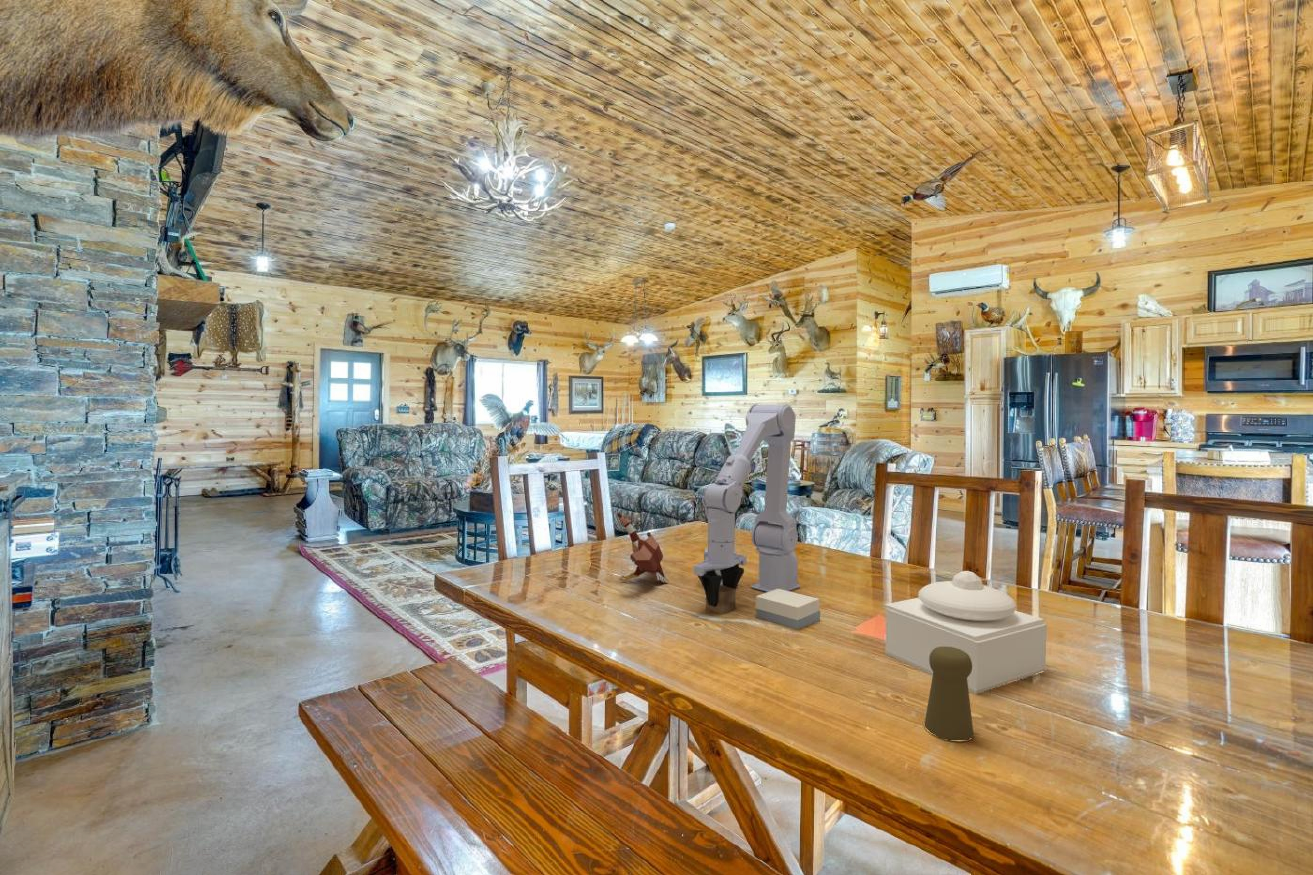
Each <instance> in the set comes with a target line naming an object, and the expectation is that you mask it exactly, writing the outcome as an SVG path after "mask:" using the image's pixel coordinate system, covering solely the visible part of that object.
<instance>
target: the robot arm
mask: <svg viewBox="0 0 1313 875" xmlns="http://www.w3.org/2000/svg"><path fill="white" fill-rule="evenodd" d="M796 417H797V415H796V413H795V410H794V409H793V408H792V406H791V405H790V404H787V403H785V404H757V403H754V404H752V405H750V407H749V408H748V411H747V413H746V415H745V425H746V427H745V430H744V433H743V435H742V436H741V440H740V441H739V445H738V446H737V448H736V451H735V454H731V455H730V456H727V458H726V460H725V461H724V464H722V467H721V469H720V471H719V473H718V475H717V477H716V479H715V481H714V482H713V483H711V484H709V485H708V486H706V487H705V489H704V491H703V496H702V497H701V502H702V506H703V507H704V512H705V517H706V518H707V549H708V557H706V558H705V561H704V560H703V561H701V562H699V563H697V564H694V565H693V575H695V576H697V577H698V579H699V581H700V582H701V585H702V587H703V590H704V594H705V598H706V597H707V602H708V605H711V606H714V607H716V606H717V604H718V595H719V587H720V583H721V580H722V582H723V586H727V587H730V588H734V589H736V590H737V588H738V585H739V582H740V580H741V579H742V577H743V575H744V574H745V568H743V567H740V565H741V566H745V565H747V555H744V554H737V555H735V550H736V549H735V544H736V543H735V539H736V538H735V536H736V534H735V533H736V530H735V528H736V525H735V524H736V511H737V510H738V509H739V508H740V506H741V502H742V494H743V486H744V484H745V483H746V481H747V478H748V476H749V475H750V472H751V470H752V466H751V463H750V461H751V459H752V458H753V457H754V455H755V453H756V452H757V450H758V448H759V446H760V445H761V444H762V442H763V440H765V442H766V444H767V446H768V448H767V449H768V452H767V463H766V464H767V465H766V478H765V479H766V481H765V490H764V491H765V492H764V493H765V494H764V508H763V510H762V511H761V512H759V514H757V515H755V517H754V524H753V527H752V529H751V536H750V538H751V543H752V544H753V545H754V546H755V550H756V551H758V583H755V584H751V585H750V588H752V589H756V590H759V591H761V592H762V591H763V592H765V593H767V592H770V591H772V590H775V589H782V590H786V591H790V592H791V591H793V590H796V589H798V588H801V586H802V585H801V584H798V581H799V580H798V574H799V571H798V570H799V561H798V557H797V555H796V553H795V552H794V550H795V549H796V548H797V545H798V540H799V534H798V530H797V529H798V528H797V520H796V519H795V518H794V517H793V516H792V515H791V514H790V513H789V512H788V511H787V505H788V495H789V494H788V491H789V479H790V478H789V476H790V463H791V462H790V461H791V447H792V441H793V440H794V439H795V433H796ZM718 570H720V572H721V576H720V575H717V573H715V571H718Z"/></svg>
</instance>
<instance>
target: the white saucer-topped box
mask: <svg viewBox="0 0 1313 875" xmlns="http://www.w3.org/2000/svg"><path fill="white" fill-rule="evenodd" d="M884 610H885V611H886V612H885V654H884V655H887V656H889V657H891V658H893V659H895V660H897V661H898V660H899V661H900V662H903V663H905V664H907V665H909V666H911V665H912V666H911V667H913V668H917V670H920V669H921V670H920V671H922V670H923V672H925V673H927V674H929V673H930V674H929V675H931V674H932V675H931V676H933V671H932V669H931V667H930V663H929V656H930V653H931V652H932V650H933V649H934V648H937V647H942V646H945V647H953V648H957V649H960V650H962V651H964V652H966V653H967V654H968V655H969V657H970V658H971V662H972V671H971V674H970V675H969V676H968V677H967V682H968V691H971V692H972V693H971V692H970V693H971V694H974V693H975V694H974V695H978V694H977V693H979V694H981V693H980V692H982V693H985V692H987V691H986V690H988V691H990V690H989V689H991V690H993V689H992V688H995V687H998V686H1000V685H1003V684H1006V683H1008V682H1011V681H1014V680H1019V681H1021V680H1020V679H1022V678H1025V677H1028V676H1031V675H1034V674H1036V673H1039V672H1041V671H1044V670H1045V671H1046V661H1047V660H1046V659H1047V658H1046V656H1047V632H1048V631H1047V629H1048V627H1047V626H1048V625H1047V624H1046V623H1045V622H1044V621H1045V619H1044V618H1041V617H1038V616H1034V615H1032V614H1028V613H1025V612H1021V611H1017V604H1016V601H1015V600H1014V599H1013V598H1012V597H1011V596H1009V595H1008V594H1006V593H1005V592H1003V591H1001V590H999V589H996V588H994V587H991V586H988V585H985V584H984V583H983V581H982V577H980V576H978V575H977V574H976V573H975V572H973V571H969V570H962V571H961V572H958V573H957V574H954V576H953V578H952V580H946V581H945V580H944V581H938V582H931V583H929V584H926V585H924V586H923V587H921V589H919V591H918V595H917V597H915V598H911V599H904V600H900V601H895V602H891V603H886V604H884ZM1025 679H1026V678H1025ZM1022 680H1023V679H1022ZM998 688H999V687H998ZM995 689H996V688H995ZM984 691H985V692H984Z"/></svg>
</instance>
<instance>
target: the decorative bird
mask: <svg viewBox="0 0 1313 875" xmlns="http://www.w3.org/2000/svg"><path fill="white" fill-rule="evenodd" d="M616 516H618V519H619V522H620V524H621V526H623V528H625V530H626V531H627V533H628V535H629V538H630V541H631V548H632V553H630V557H629V558H630V560H631V561H632V563H634V565H635V566H636V568H635V571H633V572H632V573H630V574H628V575H626V576H625V575H621V577H619V578H618V580H619V581H621V582H623V583H627V584H628V581H629V580H632V579H635V578H639V577H640V576H642V575H643V574H645V573H649V574H650V575H653V576H655V577H656V579H657V582H659V583H662V584H665V585H668V584H669V580H668V579H667V578H666V577H665V573H664V570H663V566H662V564H661V562H662V561H663V559H664V553H663V552H662V549H661V547H660V545H659V543H658V541H657V540H656V539H655V537H654V536H653V535H652V534H651V532H649V531H648V532H647V533H646V535H647V539H645V540H644V539H641V538H640V537H639V534H638V533H637V531H636V529H635V528H634V526H633V525H632V524H631V522H630V520H629V519H628V517H626V516H624V515H623V514H622V513H620V512H619V511H618V513H617V514H616Z"/></svg>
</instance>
